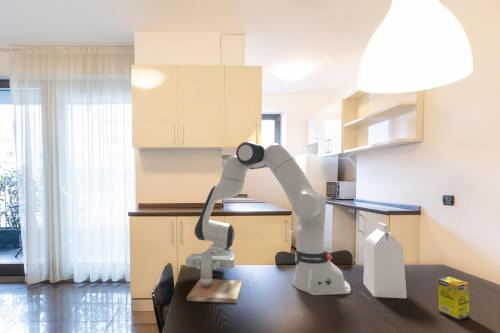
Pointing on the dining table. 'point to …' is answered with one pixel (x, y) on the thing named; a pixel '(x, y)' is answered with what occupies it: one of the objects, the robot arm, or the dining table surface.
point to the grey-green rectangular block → (206, 269)
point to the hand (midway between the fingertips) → (206, 267)
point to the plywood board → (216, 291)
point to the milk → (384, 264)
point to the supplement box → (453, 298)
